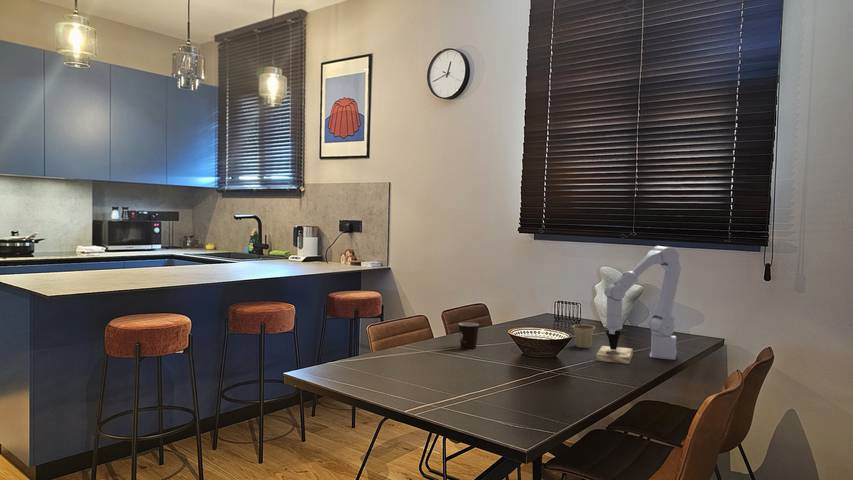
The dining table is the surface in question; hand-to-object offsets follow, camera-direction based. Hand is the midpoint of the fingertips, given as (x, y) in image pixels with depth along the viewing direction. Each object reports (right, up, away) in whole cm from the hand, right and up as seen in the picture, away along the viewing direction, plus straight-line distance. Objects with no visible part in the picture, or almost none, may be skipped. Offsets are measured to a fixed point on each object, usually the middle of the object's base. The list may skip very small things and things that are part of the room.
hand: (613, 349), depth 232 cm
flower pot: (-7, -3, +20) cm, 21 cm away
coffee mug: (-56, -2, +17) cm, 59 cm away
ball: (-1, -2, -3) cm, 3 cm away
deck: (+1, -3, +1) cm, 4 cm away
